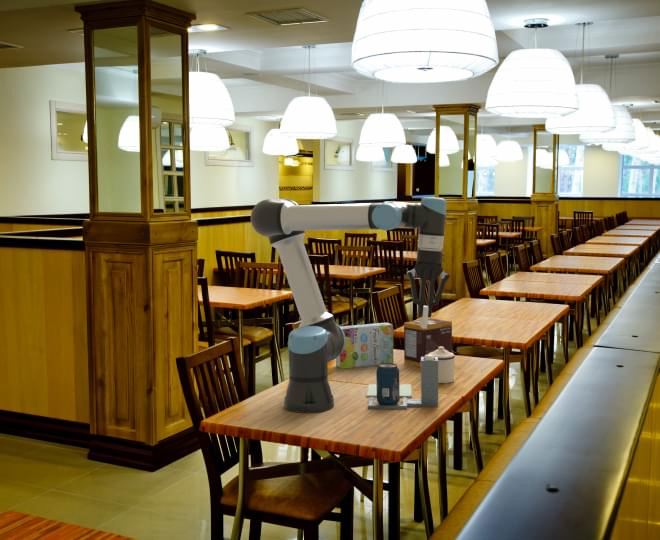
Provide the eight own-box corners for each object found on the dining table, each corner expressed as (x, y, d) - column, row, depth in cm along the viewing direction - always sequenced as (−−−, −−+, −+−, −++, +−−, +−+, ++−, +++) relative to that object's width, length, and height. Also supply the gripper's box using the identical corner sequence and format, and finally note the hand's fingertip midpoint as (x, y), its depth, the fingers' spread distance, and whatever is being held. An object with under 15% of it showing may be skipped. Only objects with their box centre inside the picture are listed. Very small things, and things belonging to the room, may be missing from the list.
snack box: (388, 361, 289) (387, 321, 287) (393, 364, 284) (393, 324, 282) (335, 366, 282) (334, 326, 281) (340, 369, 277) (339, 328, 276)
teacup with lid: (458, 379, 260) (458, 345, 258) (449, 385, 252) (449, 350, 250) (425, 375, 265) (425, 342, 264) (415, 381, 257) (415, 347, 256)
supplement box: (452, 361, 286) (452, 320, 284) (423, 368, 277) (422, 325, 275) (433, 357, 294) (432, 317, 292) (403, 363, 285) (403, 322, 283)
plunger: (425, 374, 230) (424, 354, 230) (433, 374, 230) (433, 354, 229) (425, 376, 228) (425, 356, 227) (433, 376, 227) (433, 356, 227)
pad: (368, 385, 253) (368, 384, 253) (411, 386, 251) (411, 384, 251) (366, 397, 239) (366, 395, 239) (411, 397, 237) (411, 395, 237)
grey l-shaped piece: (370, 400, 235) (369, 355, 234) (437, 401, 233) (437, 356, 232) (368, 408, 226) (367, 362, 225) (438, 409, 224) (438, 363, 222)
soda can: (379, 400, 235) (379, 362, 234) (401, 401, 233) (401, 363, 232) (374, 406, 229) (373, 367, 228) (397, 407, 227) (396, 368, 226)
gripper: (410, 248, 222) (403, 328, 224) (454, 251, 223) (447, 331, 225) (406, 247, 230) (400, 324, 232) (449, 250, 230) (443, 327, 232)
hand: (423, 327), depth 228 cm, fingers closed
